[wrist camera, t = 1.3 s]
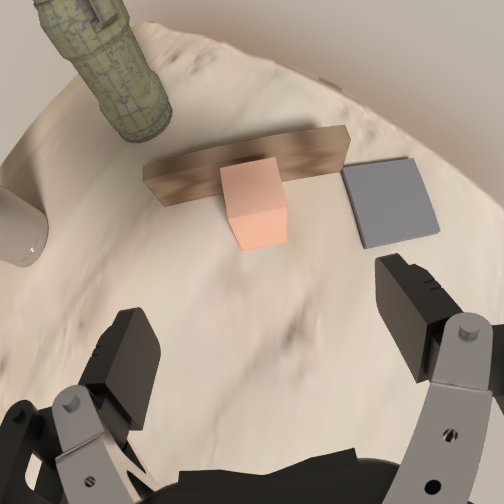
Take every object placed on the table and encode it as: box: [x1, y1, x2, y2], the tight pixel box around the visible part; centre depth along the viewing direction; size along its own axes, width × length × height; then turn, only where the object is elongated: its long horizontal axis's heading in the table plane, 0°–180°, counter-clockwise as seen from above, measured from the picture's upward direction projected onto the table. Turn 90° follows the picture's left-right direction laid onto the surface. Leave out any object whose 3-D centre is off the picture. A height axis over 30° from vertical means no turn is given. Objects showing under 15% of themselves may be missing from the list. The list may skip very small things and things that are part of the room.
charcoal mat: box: [341, 158, 440, 249], centre depth 36 cm, size 10×10×1 cm
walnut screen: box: [143, 125, 351, 207], centre depth 35 cm, size 22×2×7 cm, turn 100°
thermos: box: [33, 0, 172, 143], centre depth 26 cm, size 9×12×35 cm
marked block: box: [220, 157, 288, 251], centre depth 32 cm, size 5×5×10 cm
